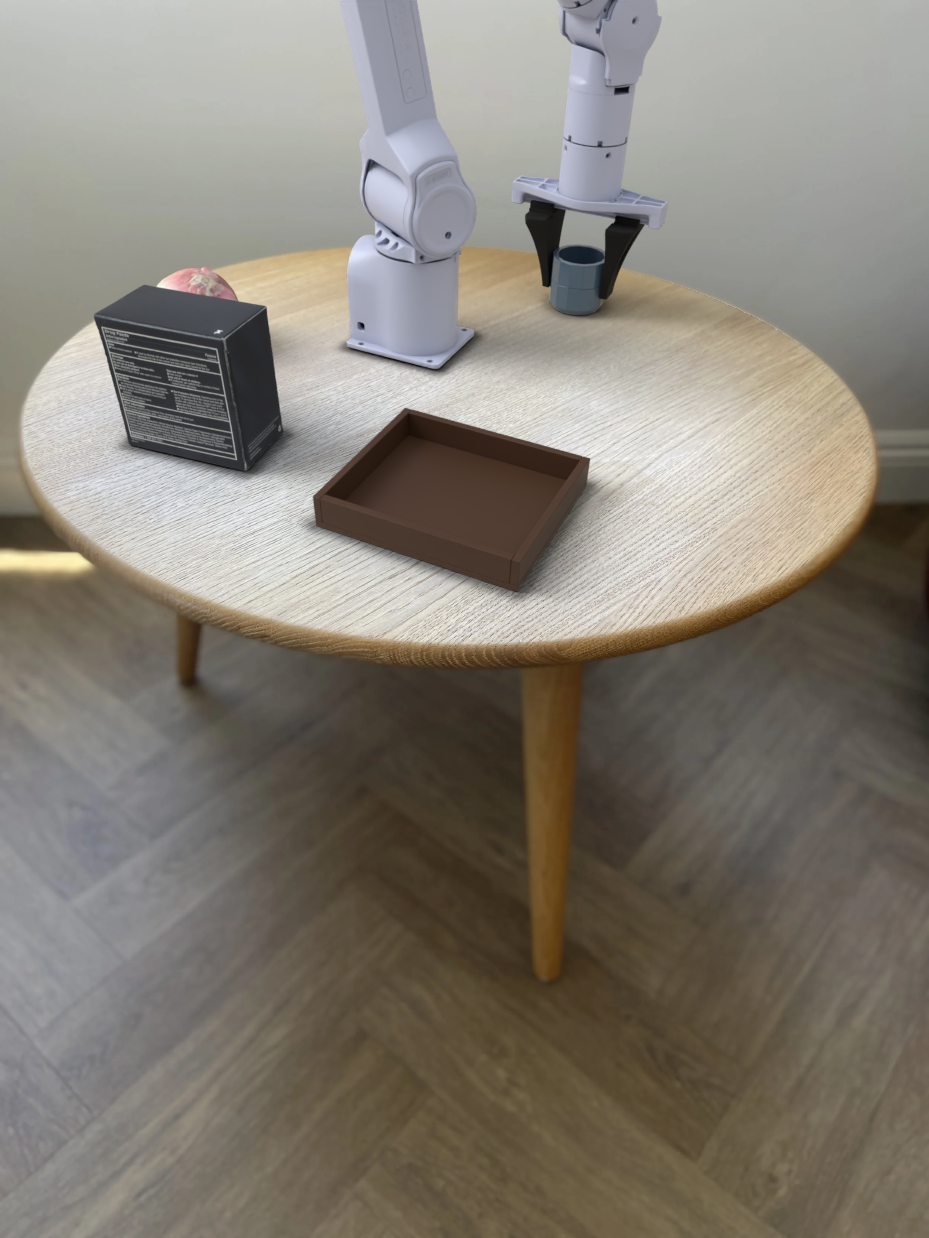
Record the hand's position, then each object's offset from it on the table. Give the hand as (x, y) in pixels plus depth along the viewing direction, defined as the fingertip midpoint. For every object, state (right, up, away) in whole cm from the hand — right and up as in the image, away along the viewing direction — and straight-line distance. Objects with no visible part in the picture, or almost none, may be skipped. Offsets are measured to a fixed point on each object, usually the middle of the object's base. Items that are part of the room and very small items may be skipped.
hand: (577, 289), depth 86 cm
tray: (-12, -25, -24) cm, 36 cm away
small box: (-31, -19, -18) cm, 41 cm away
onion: (-35, -8, -7) cm, 37 cm away
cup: (0, -1, +1) cm, 2 cm away
